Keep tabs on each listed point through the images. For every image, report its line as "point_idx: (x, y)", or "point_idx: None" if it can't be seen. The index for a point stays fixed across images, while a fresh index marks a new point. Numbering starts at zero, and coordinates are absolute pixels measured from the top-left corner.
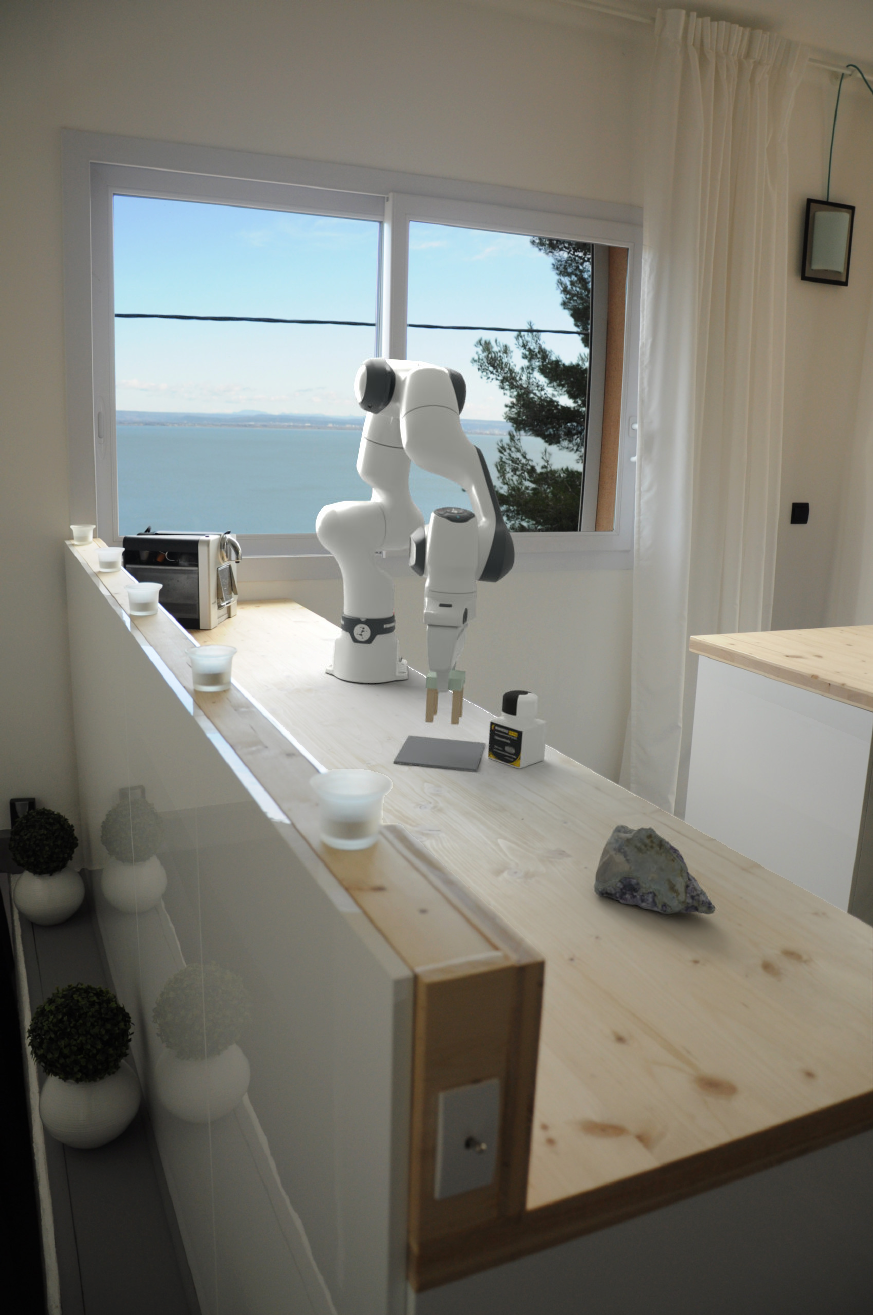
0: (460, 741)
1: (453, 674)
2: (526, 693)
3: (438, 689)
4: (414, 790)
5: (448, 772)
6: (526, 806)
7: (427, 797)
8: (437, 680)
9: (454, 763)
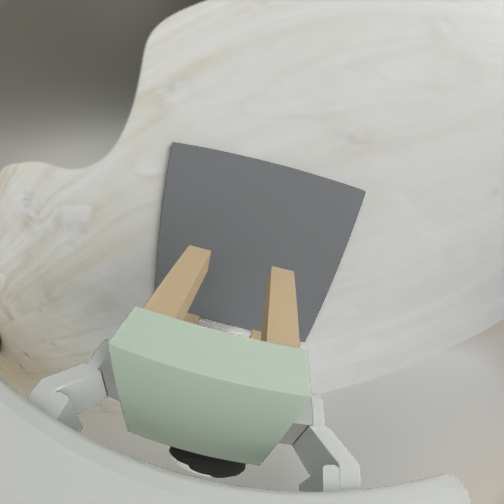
0: (315, 302)
1: (194, 437)
2: (203, 473)
3: (103, 345)
4: (62, 189)
5: (142, 253)
6: (67, 326)
7: (48, 209)
8: (77, 366)
9: None
